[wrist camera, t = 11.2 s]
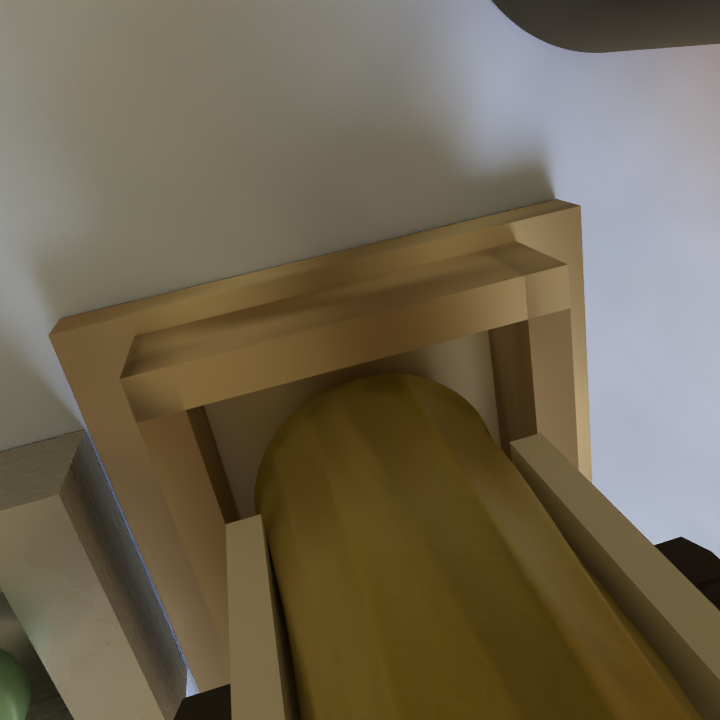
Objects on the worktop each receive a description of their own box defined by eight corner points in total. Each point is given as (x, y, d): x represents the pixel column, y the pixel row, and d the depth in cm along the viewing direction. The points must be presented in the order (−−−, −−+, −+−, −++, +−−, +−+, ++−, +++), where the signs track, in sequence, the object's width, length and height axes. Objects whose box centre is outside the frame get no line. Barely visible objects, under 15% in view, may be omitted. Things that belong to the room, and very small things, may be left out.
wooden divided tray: (257, 798, 23) (265, 917, 20) (60, 319, 15) (17, 379, 12) (584, 686, 24) (643, 778, 21) (556, 199, 17) (642, 222, 13)
